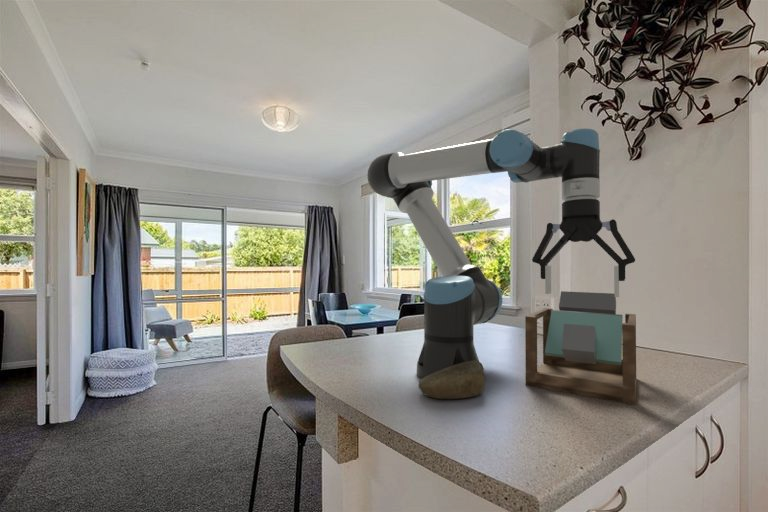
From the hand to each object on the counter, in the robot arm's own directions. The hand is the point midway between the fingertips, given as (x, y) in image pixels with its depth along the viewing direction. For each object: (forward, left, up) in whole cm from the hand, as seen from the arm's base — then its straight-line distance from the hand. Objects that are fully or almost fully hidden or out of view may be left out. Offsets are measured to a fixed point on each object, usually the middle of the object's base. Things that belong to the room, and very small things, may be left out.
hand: (580, 295), depth 83 cm
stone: (-20, -23, -20) cm, 37 cm away
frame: (0, +2, -20) cm, 20 cm away
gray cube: (0, 0, -12) cm, 12 cm away
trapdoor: (0, +9, -10) cm, 13 cm away
